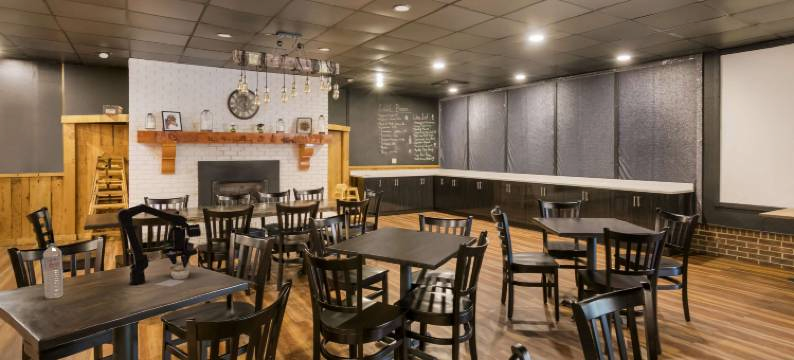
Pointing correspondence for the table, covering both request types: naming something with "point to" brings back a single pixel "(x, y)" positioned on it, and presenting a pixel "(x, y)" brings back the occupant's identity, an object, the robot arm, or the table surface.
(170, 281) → the mat
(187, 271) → the bowl
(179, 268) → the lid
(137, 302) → the table surface
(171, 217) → the robot arm
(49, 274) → the water bottle
